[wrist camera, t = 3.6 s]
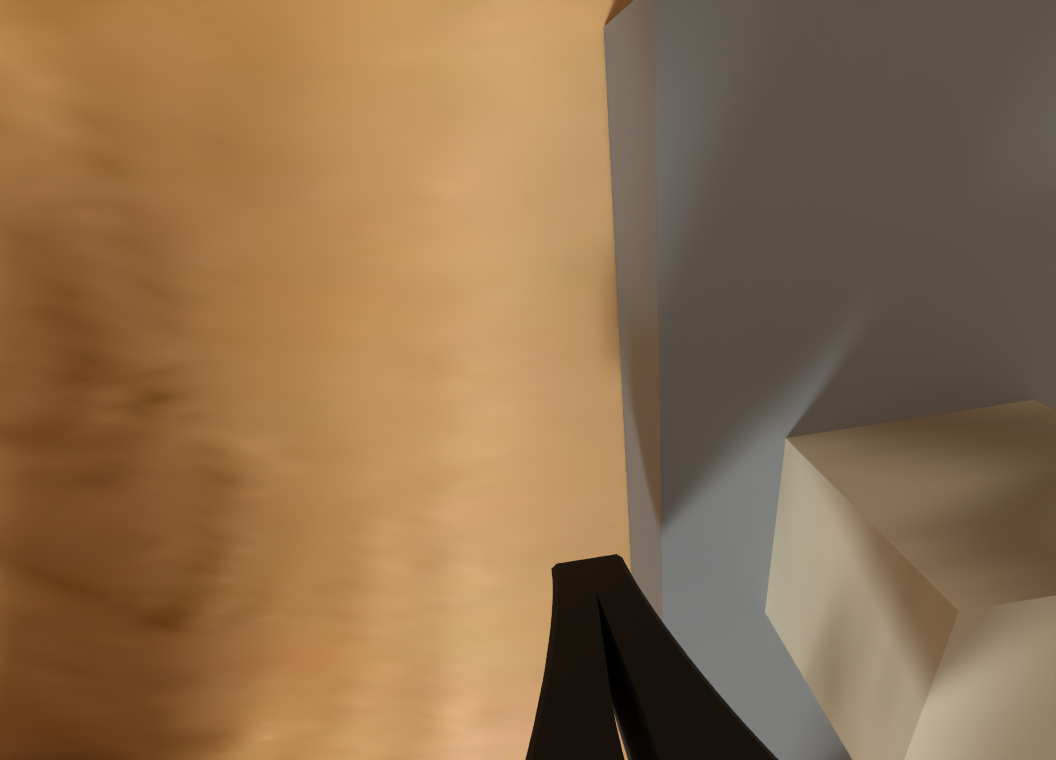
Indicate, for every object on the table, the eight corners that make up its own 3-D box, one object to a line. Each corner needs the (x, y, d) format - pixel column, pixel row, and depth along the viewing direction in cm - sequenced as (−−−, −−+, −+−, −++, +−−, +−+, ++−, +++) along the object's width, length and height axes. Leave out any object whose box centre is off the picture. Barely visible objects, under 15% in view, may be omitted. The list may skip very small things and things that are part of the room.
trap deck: (1393, -85, 9) (1758, -173, 7) (1044, 628, 18) (1140, 714, 16) (604, 26, 9) (653, -18, 6) (637, 694, 18) (664, 792, 15)
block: (1033, 399, 10) (1345, 548, 6) (968, 579, 12) (1171, 765, 9) (785, 437, 10) (959, 611, 6) (765, 612, 12) (883, 813, 8)
